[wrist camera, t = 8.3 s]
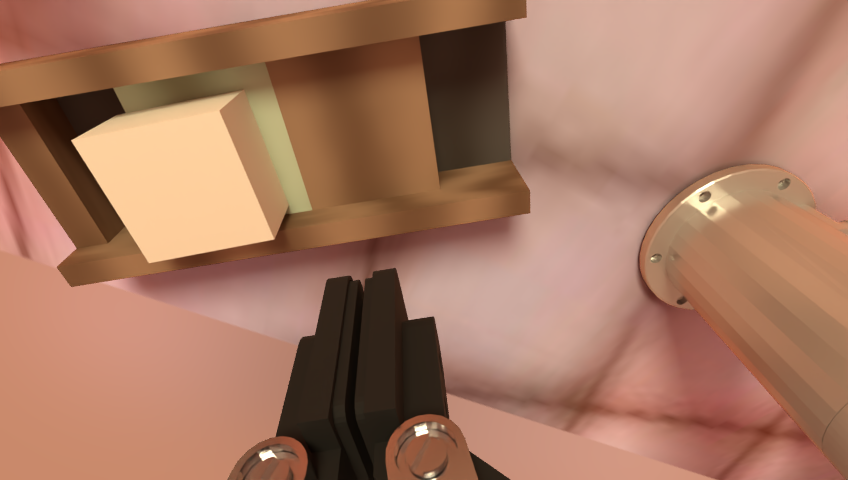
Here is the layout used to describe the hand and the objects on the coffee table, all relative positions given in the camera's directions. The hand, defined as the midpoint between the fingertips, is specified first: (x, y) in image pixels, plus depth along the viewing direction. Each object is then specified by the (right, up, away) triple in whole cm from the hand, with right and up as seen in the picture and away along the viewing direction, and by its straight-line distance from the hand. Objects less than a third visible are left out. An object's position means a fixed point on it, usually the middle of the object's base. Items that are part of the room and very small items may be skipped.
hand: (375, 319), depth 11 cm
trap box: (-8, +9, +16) cm, 20 cm away
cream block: (-11, +6, +14) cm, 19 cm away
